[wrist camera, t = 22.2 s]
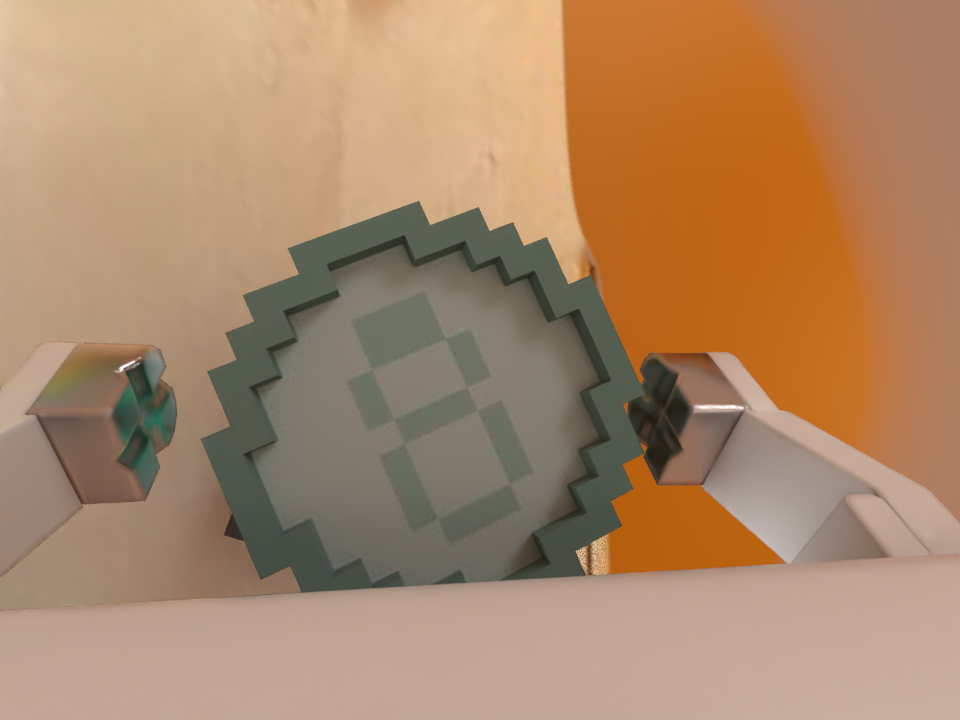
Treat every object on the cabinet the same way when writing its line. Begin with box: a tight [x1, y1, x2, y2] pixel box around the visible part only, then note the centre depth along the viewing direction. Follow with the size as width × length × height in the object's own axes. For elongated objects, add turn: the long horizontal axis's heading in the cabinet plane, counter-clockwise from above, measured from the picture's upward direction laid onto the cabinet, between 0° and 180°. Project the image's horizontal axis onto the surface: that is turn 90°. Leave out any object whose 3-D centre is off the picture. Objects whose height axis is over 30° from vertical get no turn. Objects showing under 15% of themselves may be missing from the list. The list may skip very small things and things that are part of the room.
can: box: [201, 201, 645, 593], centre depth 15 cm, size 6×6×15 cm
